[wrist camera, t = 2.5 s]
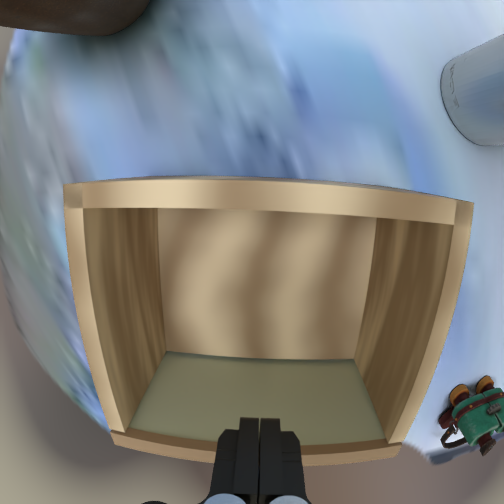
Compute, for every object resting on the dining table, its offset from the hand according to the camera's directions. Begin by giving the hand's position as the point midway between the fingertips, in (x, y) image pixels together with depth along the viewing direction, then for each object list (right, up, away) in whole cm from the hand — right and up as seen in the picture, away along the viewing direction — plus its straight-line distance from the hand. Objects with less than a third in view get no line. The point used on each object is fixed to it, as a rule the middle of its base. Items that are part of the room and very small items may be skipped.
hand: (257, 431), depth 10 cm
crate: (+1, +5, +15) cm, 16 cm away
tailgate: (+1, -4, +18) cm, 18 cm away
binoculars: (+28, -14, +19) cm, 37 cm away
